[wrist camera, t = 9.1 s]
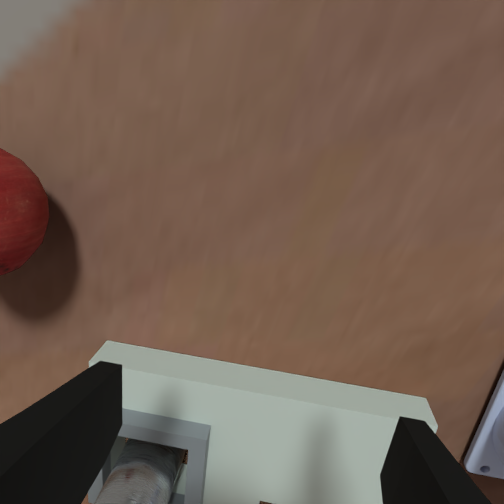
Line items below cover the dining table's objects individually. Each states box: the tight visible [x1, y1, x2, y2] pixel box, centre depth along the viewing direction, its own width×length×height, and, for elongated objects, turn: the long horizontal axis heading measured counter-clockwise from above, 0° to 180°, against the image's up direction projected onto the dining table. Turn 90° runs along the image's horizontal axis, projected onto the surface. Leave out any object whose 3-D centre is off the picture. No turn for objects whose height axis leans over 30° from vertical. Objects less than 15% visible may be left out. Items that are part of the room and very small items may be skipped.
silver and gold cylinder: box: [94, 438, 187, 504], centre depth 21 cm, size 4×4×7 cm
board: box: [88, 340, 438, 504], centre depth 23 cm, size 18×16×3 cm
